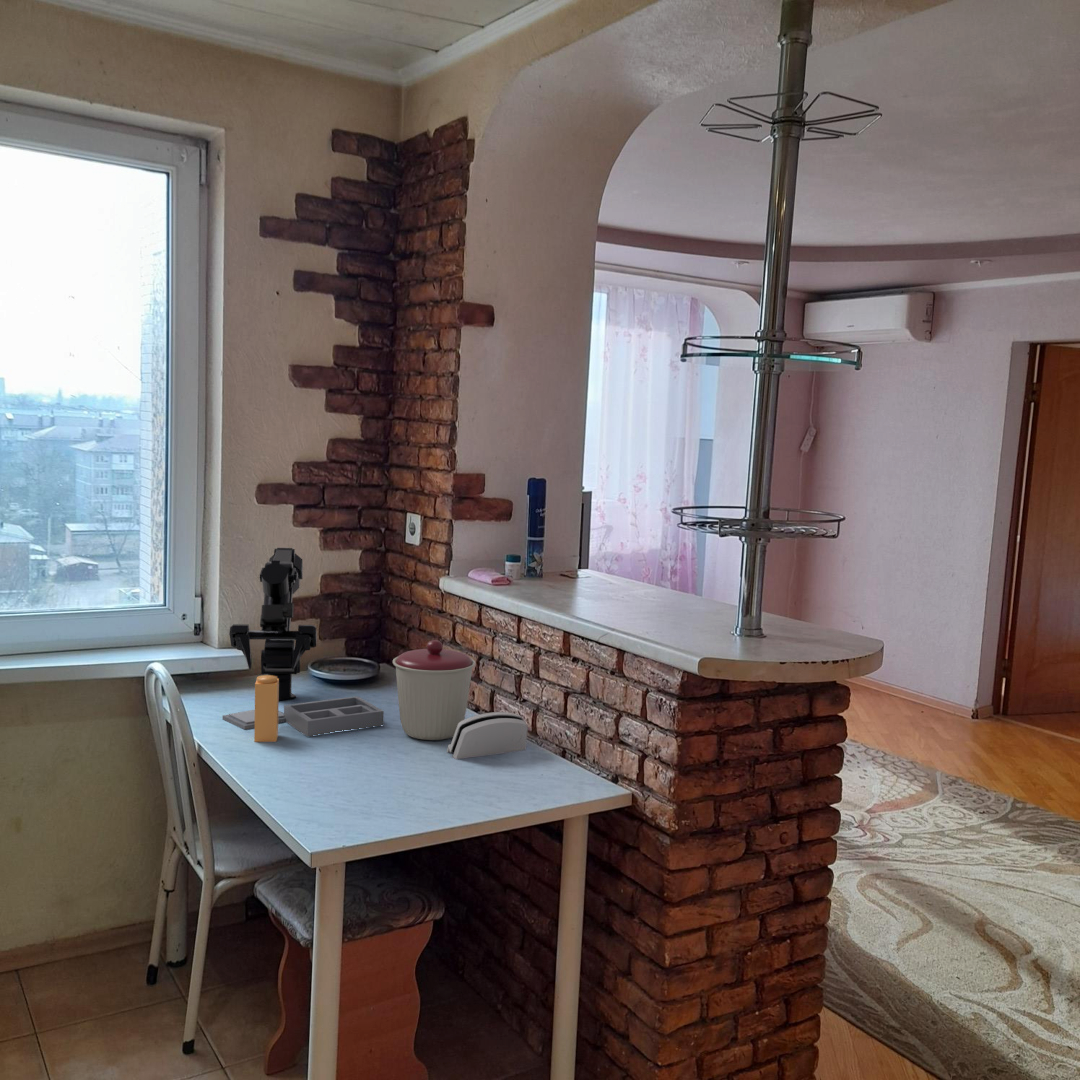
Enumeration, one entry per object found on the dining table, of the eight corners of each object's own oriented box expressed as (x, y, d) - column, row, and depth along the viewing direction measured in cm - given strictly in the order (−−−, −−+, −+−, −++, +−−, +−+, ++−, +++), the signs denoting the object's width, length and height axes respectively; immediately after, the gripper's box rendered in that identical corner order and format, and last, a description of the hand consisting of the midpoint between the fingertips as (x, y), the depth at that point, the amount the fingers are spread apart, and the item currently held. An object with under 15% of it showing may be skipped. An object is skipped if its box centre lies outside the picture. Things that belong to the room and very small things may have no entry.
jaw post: (256, 735, 222) (257, 674, 221) (278, 735, 223) (278, 674, 221) (254, 741, 218) (255, 680, 216) (276, 741, 218) (277, 680, 217)
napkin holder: (515, 743, 224) (524, 704, 220) (524, 756, 221) (534, 717, 217) (445, 752, 216) (453, 712, 212) (453, 765, 213) (461, 726, 209)
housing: (283, 720, 234) (284, 705, 233) (357, 710, 244) (357, 696, 244) (307, 737, 222) (307, 721, 222) (383, 726, 233) (383, 710, 232)
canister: (410, 718, 239) (412, 629, 237) (483, 727, 235) (487, 636, 232) (377, 740, 222) (379, 644, 220) (456, 750, 217) (459, 652, 215)
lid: (222, 719, 233) (222, 713, 233) (270, 710, 241) (270, 705, 241) (244, 729, 226) (244, 724, 226) (292, 720, 234) (292, 715, 234)
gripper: (230, 588, 228) (223, 649, 219) (316, 589, 231) (313, 649, 222) (234, 616, 237) (228, 675, 227) (317, 617, 240) (314, 675, 231)
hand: (271, 668), depth 227 cm, fingers open, 9 cm apart
